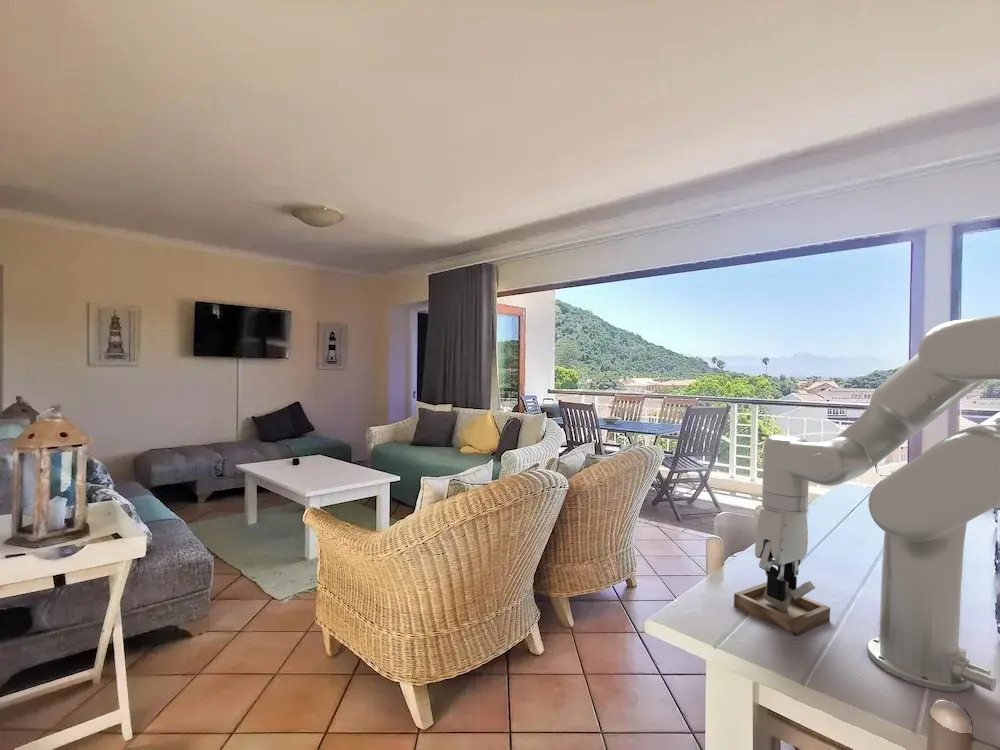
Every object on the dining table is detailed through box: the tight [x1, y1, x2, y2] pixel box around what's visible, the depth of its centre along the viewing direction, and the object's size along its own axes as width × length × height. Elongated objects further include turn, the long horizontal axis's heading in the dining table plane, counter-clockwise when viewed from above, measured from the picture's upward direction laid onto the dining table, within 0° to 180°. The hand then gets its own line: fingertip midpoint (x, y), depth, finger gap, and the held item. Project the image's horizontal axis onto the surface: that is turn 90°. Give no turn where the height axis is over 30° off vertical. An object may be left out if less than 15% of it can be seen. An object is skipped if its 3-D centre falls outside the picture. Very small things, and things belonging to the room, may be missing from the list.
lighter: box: [763, 579, 816, 612], centre depth 92 cm, size 7×2×8 cm, turn 30°
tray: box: [733, 581, 831, 637], centre depth 93 cm, size 12×11×2 cm
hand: (781, 595), depth 93 cm, fingers open, 2 cm apart
